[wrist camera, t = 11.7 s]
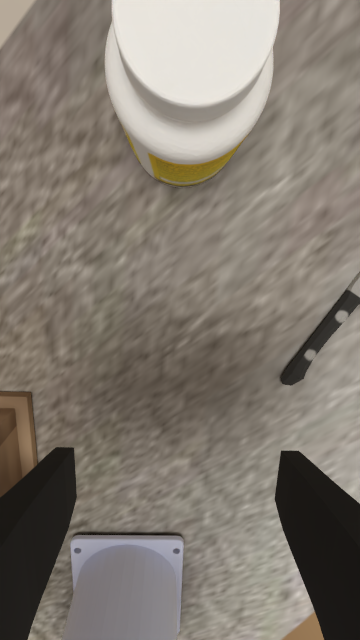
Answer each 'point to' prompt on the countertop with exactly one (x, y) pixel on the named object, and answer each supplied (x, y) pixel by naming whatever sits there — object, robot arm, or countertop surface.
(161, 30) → the supplement bottle
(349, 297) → the chef's knife
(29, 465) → the wooden peg socket
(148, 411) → the countertop surface
